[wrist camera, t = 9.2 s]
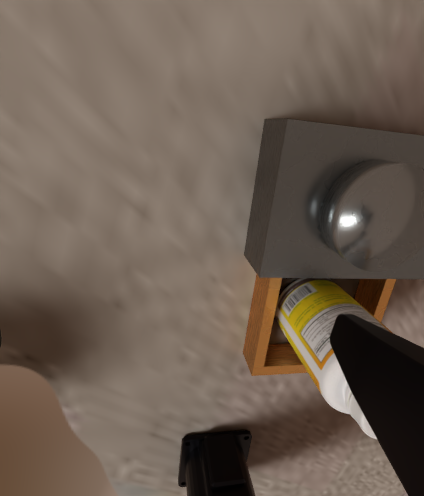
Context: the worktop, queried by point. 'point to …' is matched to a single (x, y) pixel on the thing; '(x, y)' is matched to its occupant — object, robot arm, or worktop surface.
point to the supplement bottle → (321, 337)
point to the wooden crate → (331, 220)
